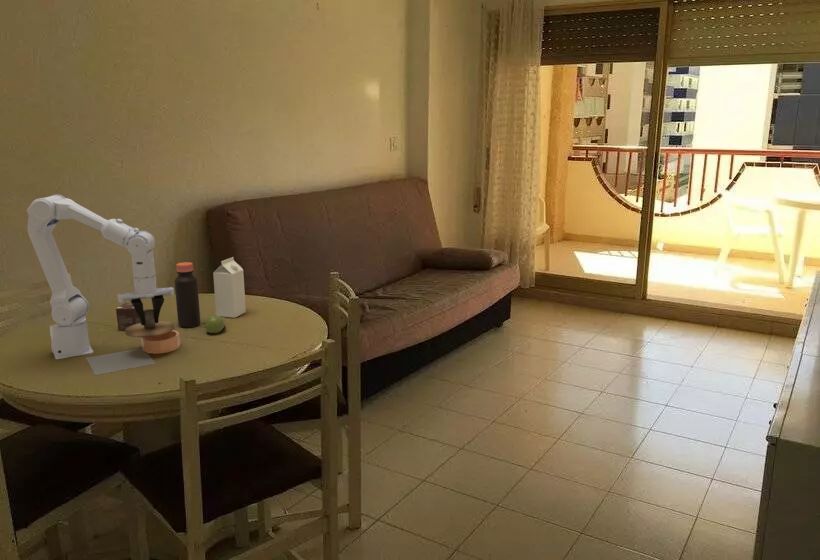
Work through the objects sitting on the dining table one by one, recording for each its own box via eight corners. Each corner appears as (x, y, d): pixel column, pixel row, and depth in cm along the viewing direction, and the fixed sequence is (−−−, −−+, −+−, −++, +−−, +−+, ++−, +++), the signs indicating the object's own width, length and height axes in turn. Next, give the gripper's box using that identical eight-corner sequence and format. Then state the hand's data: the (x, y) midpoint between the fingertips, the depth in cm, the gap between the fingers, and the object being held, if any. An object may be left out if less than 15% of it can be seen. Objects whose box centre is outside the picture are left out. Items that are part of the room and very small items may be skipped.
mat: (95, 376, 171) (95, 375, 171) (86, 359, 183) (85, 357, 183) (156, 364, 179) (155, 363, 179) (143, 349, 191) (143, 347, 191)
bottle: (178, 322, 215) (173, 262, 210) (200, 320, 217) (195, 260, 212) (178, 329, 209) (172, 266, 204) (200, 327, 211) (195, 265, 206)
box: (145, 325, 213) (143, 303, 211) (136, 331, 207) (134, 308, 205) (127, 324, 213) (125, 302, 211) (117, 330, 207) (115, 308, 206)
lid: (129, 340, 178) (127, 320, 177) (121, 327, 189) (119, 308, 188) (179, 332, 185) (177, 312, 184) (169, 320, 196) (167, 302, 194)
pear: (202, 317, 202) (209, 313, 212) (203, 335, 202) (210, 330, 212) (221, 317, 202) (227, 313, 212) (222, 334, 203) (228, 329, 213)
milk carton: (216, 316, 222) (212, 260, 217) (227, 310, 229) (224, 256, 224) (234, 318, 220) (231, 262, 215) (246, 312, 227) (242, 257, 222)
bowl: (147, 357, 185) (146, 343, 184) (139, 346, 193) (138, 333, 192) (184, 350, 190) (183, 336, 189) (174, 340, 198) (173, 327, 197)
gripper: (119, 282, 176) (124, 331, 180) (175, 275, 184) (179, 322, 187) (114, 277, 182) (119, 324, 185) (169, 270, 190) (173, 316, 193)
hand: (149, 323), depth 187 cm, fingers closed on lid, 3 cm apart
